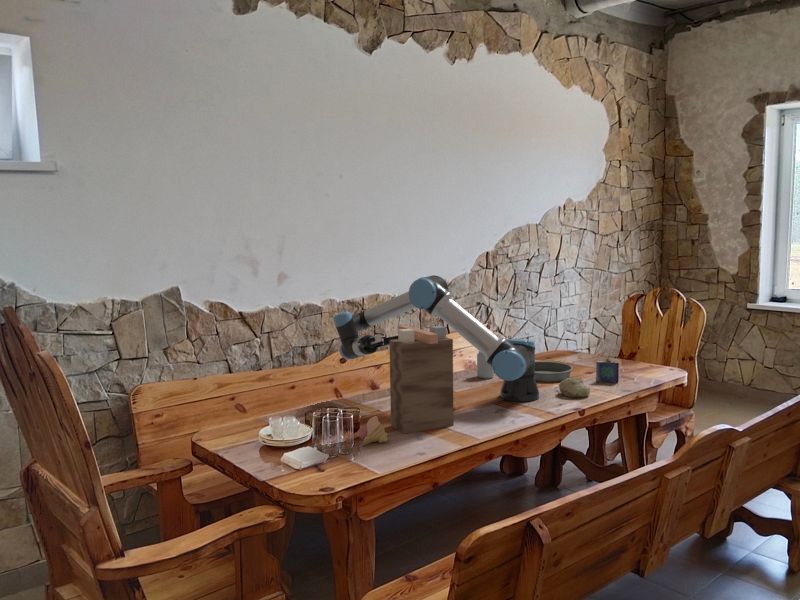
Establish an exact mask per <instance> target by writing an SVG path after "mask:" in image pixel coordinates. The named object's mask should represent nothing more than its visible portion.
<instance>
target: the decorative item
mask: <svg viewBox="0 0 800 600" xmlns="http://www.w3.org/2000/svg"><path fill="white" fill-rule="evenodd" d="M558 388H559V393H561V394H563V395H564V396H565V397H568V398H569V397H570V398H585V397H587V396H589V395H590V393H591V387H590V386H588V385H587V384H585V383H584V379H583V378H581V377H577V376H572V377H569V378H566V379H565V380H562V381H560V383H559V384H558Z"/></svg>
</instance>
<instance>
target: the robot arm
mask: <svg viewBox="0 0 800 600" xmlns="http://www.w3.org/2000/svg"><path fill="white" fill-rule="evenodd" d="M414 309H419V310H424V311H425V312H427V313H428V314H429V315H430V316H431V317H436V316H437V317H438V318H439V319H441V321H444V323H446V324H447V325H448V326H449V327H450V328H452V329H453V330H454V331H455V332H456V333H458V335H460V336H461V337H462V338H464V340H466V342H469V344H471V345H472V346H473V347H474V348H475V349H476V350H478V351H480V352H481V353H482V354H484V355H485V357H486V362H487V363H488V364H489V365H490V366H492V367H493V371H494V375H495V376H496V377H498V378H499V379H500V380H502V381H503V382H502V385H501V388H500V393H499V394H500V398H501V399H503V400H506V401H512V402H532V401H536V400H538V399H539V398H540V391H539V387H538V384H537V381H535V362H536V360H535V358H536V345H535V342H534V340H532V339H522V338H521V339H520V338H519V339H518V338H508V339H507V338H505V337H504V338H501V337H499V336H498V335H496V334H495V333H494V332H493V331H491V329H489V327H487V326H486V325H485V324H483V323H482V322H480V320H478V318H476V317H474V316H473V315H472V314H471V313H469V311H467V309H465V308H464V307H462V305H460V304H459V303H457V302H456V301H455V300H454V299H453V298H452V292H451V291H449V285H448V283H447V281H446V280H445V279H444V278H443V277H441V276H439V275H427V276H425V277H424V276H422V277H419V278H417V279H416V280H413V282H412V283H411V284H410V286H409V289H408V291H405V292H404V293H401V294H399V295H396V296H394V297H392V298H390V299H387V300H385V301H383V302H381V303H379V304H377V305H374V306H372V307H369V308H367V309H364V310H362V311H359V312H357V313H354V314H351V312H350V311H348V310H347V311H344V312H342V313H338V314H336V315H334V316H333V321H334V326H335V328H336V332H337V333H338V336H339V339H340V343H341V345H340V346H339V353H340V356H341V358H343V359H344V360H347V361H348V360H354V359H357V358H361V357H362V358H365V356H367V355H372V354H374V353H376V352H377V351H378V348H381V347H385V346H390V345H389V340H394V339H398V335H394V336H388V337H386V336H382V334H381V333H378V334H375V335H373V334H367V335H364V336H361V337H359V335H358V334H359V332H361V331H364V330H367V329H369V328H372V327H374V326H375V325H378V324H380V323H383V322H385V321H388V320H390V319H393V318H395V317H397V316H400V315H403V314H404V313H407V312H409V311H412V310H414Z"/></svg>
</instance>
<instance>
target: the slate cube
mask: <svg viewBox="0 0 800 600" xmlns="http://www.w3.org/2000/svg"><path fill="white" fill-rule="evenodd" d="M429 332H432V333H435V334H438V340H439V339H446V337H447V327H446V326H443V325H433V326H429Z"/></svg>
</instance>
